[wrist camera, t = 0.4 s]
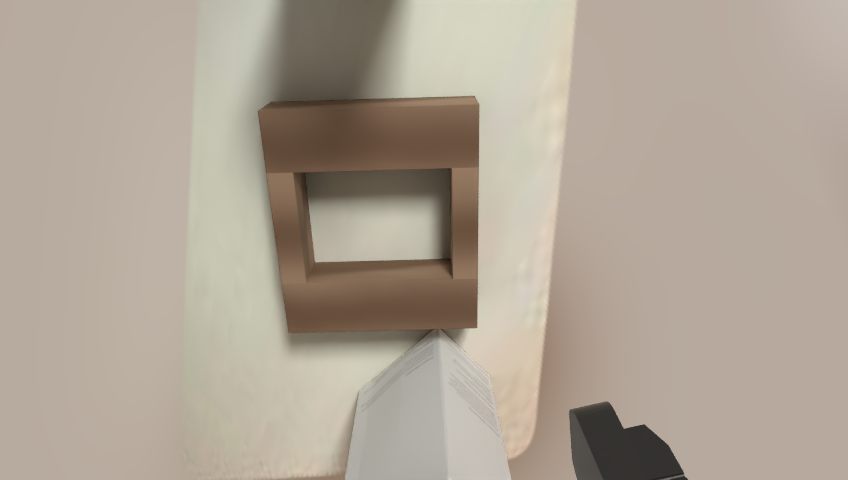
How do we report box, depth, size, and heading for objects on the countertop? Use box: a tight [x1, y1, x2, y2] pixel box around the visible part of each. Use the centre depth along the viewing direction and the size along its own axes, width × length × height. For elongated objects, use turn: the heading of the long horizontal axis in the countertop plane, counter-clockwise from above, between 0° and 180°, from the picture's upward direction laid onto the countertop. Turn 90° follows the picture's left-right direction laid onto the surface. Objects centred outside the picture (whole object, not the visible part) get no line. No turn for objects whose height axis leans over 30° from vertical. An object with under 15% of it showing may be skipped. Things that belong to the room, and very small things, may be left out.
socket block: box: [258, 96, 479, 333], centre depth 35 cm, size 14×12×3 cm
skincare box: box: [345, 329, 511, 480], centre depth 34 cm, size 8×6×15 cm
